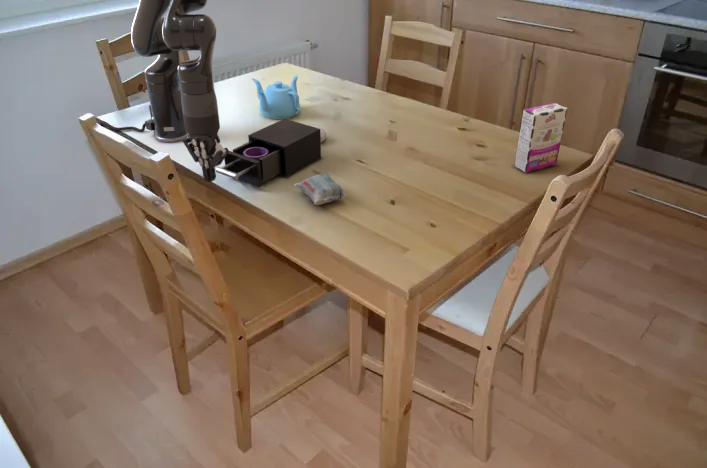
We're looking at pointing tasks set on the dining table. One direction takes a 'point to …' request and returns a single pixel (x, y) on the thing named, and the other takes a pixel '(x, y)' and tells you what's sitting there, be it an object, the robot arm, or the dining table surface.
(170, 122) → the robot arm
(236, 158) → the drawer
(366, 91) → the dining table surface
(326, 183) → the packaged food
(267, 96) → the teapot
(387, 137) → the dining table surface
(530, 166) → the candy bar box
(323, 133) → the donut
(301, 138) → the cabinet
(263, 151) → the cup
